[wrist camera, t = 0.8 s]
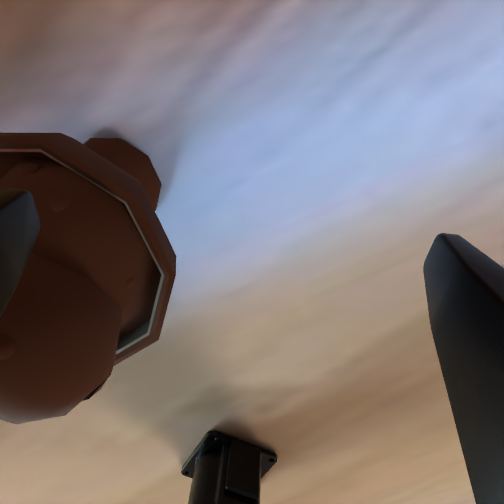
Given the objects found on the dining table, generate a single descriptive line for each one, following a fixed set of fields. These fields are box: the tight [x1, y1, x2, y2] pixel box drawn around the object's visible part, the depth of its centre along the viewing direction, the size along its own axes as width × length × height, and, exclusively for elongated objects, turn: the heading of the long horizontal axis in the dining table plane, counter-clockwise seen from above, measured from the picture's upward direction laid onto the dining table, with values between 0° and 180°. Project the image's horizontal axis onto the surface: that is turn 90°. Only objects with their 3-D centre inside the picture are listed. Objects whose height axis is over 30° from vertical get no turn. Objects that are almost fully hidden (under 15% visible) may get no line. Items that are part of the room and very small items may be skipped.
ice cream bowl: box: [0, 133, 176, 424], centre depth 18 cm, size 11×11×15 cm
